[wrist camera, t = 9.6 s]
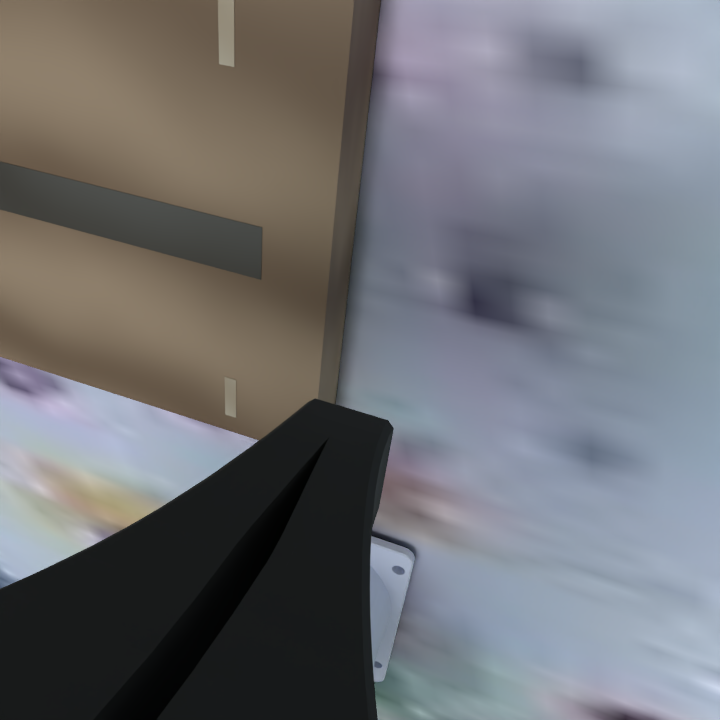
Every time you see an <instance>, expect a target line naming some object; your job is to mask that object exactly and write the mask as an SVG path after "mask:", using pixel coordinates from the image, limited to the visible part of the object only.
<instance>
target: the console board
mask: <svg viewBox="0 0 720 720" xmlns="http://www.w3.org/2000/svg"><path fill="white" fill-rule="evenodd" d="M380 3H381V0H0V357H3V358H6V359H9V360H12V361H15V362H18V363H22V364H25V365H28V366H31V367H34V368H37V369H40V370H43V371H46V372H49V373H52V374H56V375H59V376H62V377H65V378H68V379H71V380H74V381H77V382H80V383H83V384H87V385H90V386H93V387H96V388H99V389H102V390H105V391H108V392H111V393H114V394H117V395H121V396H124V397H127V398H130V399H133V400H136V401H139V402H142V403H145V404H148V405H151V406H155V407H158V408H161V409H164V410H167V411H170V412H173V413H176V414H179V415H182V416H186V417H189V418H192V419H195V420H198V421H201V422H204V423H207V424H210V425H213V426H216V427H220V428H223V429H226V430H229V431H232V432H235V433H238V434H241V435H244V436H247V437H251V438H254V439H257V440H261V439H262V438H263V437H264V436H266V435H267V434H268V433H270V432H271V431H272V430H274V429H275V428H276V427H277V426H279V425H280V424H281V423H283V422H284V421H285V420H286V419H288V418H289V417H290V416H291V415H293V414H294V413H295V412H296V411H298V410H299V409H300V408H301V407H302V406H304V405H305V404H306V403H307V402H309V401H311V400H313V399H315V398H316V399H319V400H322V401H326V402H329V403H332V404H335V403H336V394H337V385H338V376H339V367H340V358H341V350H342V341H343V332H344V323H345V314H346V305H347V296H348V287H349V278H350V270H351V261H352V252H353V243H354V234H355V225H356V216H357V207H358V198H359V189H360V181H361V172H362V163H363V154H364V145H365V136H366V127H367V118H368V109H369V100H370V92H371V83H372V74H373V65H374V56H375V47H376V38H377V29H378V20H379V12H380Z"/></svg>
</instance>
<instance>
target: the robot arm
mask: <svg viewBox="0 0 720 720" xmlns="http://www.w3.org/2000/svg"><path fill="white" fill-rule="evenodd" d="M393 429H394V428H393V427H392V425H391V424H390V423H389V421H388V420H385V419H382V418H378V417H375V416H372V415H368V414H365V413H362V412H359V411H355V410H352V409H349V408H345V407H342V406H339V405H335V404H332V403H329V402H326V401H322V400H319V399H316V398H315V399H313V400H311V401H309V402H307V403H306V404H305V405H304V406H302V407H301V408H300V409H299V410H298V411H296V412H295V413H294V414H293V415H291V416H290V417H289V418H288V419H286V420H285V421H284V422H283V423H281V424H280V425H279V426H277V427H276V428H275V429H274V430H272V431H271V432H270V433H268V434H267V435H266V436H264V437H263V438H262V439H261V440H259V441H258V442H257V443H255V444H254V445H253V446H251V447H250V448H249V449H247V450H246V451H244V452H243V453H242V454H240V455H239V456H237V457H236V458H235V459H233V460H232V461H230V462H229V463H228V464H226V465H225V466H223V467H222V468H221V469H219V470H218V471H216V472H215V473H213V474H212V475H210V476H209V477H208V478H206V479H205V480H203V481H201V482H200V483H198V484H197V485H195V486H194V487H192V488H190V489H189V490H187V491H186V492H184V493H183V494H181V495H180V496H178V497H176V498H175V499H173V500H172V501H170V502H169V503H167V504H166V505H164V506H162V507H161V508H159V509H157V510H156V511H154V512H152V513H151V514H149V515H147V516H145V517H144V518H142V519H140V520H139V521H137V522H135V523H133V524H132V525H130V526H128V527H126V528H125V529H123V530H121V531H119V532H117V533H115V534H113V535H111V536H110V537H108V538H106V539H104V540H102V541H100V542H98V543H97V544H95V545H93V546H91V547H89V548H87V549H85V550H83V551H81V552H79V553H76V554H74V555H72V556H70V557H68V558H66V559H64V560H62V561H60V562H58V563H56V564H54V565H52V566H50V567H48V568H46V569H44V570H41V571H39V572H37V573H35V574H33V575H30V576H28V577H26V578H24V579H22V580H19V581H17V582H15V583H12V584H10V585H8V586H6V587H3V588H1V589H0V720H378V718H377V709H376V700H375V688H374V681H375V682H381V681H383V680H384V678H385V675H386V672H387V668H388V664H389V660H390V656H391V652H392V648H393V644H394V640H395V636H396V632H397V628H398V624H399V620H400V616H401V613H402V609H403V605H404V601H405V597H406V593H407V589H408V585H409V581H410V577H411V573H412V569H413V565H414V561H415V556H414V554H413V553H412V552H411V551H410V550H409V549H407V548H405V547H402V546H399V545H396V544H394V543H391V542H388V541H385V540H382V539H379V538H376V537H373V536H371V534H372V527H373V524H374V520H375V517H376V514H377V511H378V508H379V504H380V499H381V493H382V488H383V483H384V477H385V472H386V466H387V461H388V456H389V450H390V445H391V440H392V434H393Z"/></svg>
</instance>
